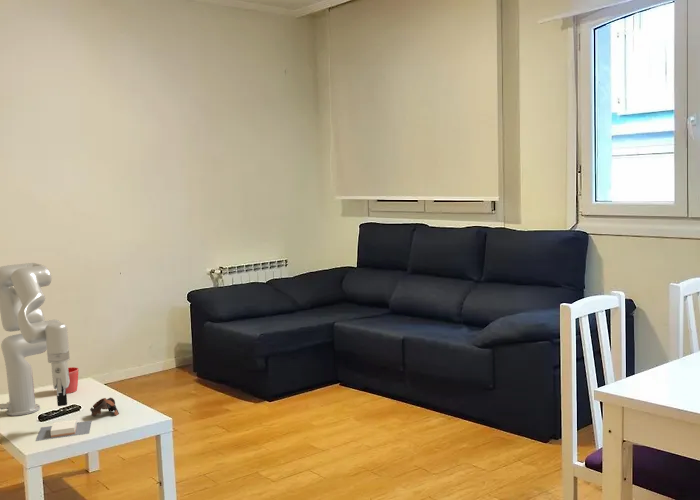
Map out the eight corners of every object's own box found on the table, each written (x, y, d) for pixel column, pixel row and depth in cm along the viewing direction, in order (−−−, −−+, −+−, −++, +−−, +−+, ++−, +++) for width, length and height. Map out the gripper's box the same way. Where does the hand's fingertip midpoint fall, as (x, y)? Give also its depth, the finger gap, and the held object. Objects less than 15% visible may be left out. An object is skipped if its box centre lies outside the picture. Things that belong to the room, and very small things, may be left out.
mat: (35, 442, 262) (35, 440, 262) (41, 429, 277) (40, 427, 277) (89, 435, 266) (89, 433, 266) (91, 422, 282) (91, 420, 282)
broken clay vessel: (116, 420, 284) (103, 404, 281) (97, 431, 285) (83, 415, 283) (126, 404, 295) (113, 388, 293) (107, 414, 297) (94, 398, 294)
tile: (54, 428, 274) (51, 437, 264) (53, 422, 274) (50, 430, 264) (76, 425, 276) (74, 434, 267) (76, 419, 276) (74, 427, 266)
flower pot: (49, 395, 325) (47, 373, 324) (63, 388, 335) (61, 367, 334) (72, 395, 323) (70, 373, 322) (85, 388, 334) (83, 366, 333)
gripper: (67, 360, 267) (71, 409, 269) (71, 351, 281) (74, 398, 283) (45, 362, 265) (49, 412, 267) (49, 353, 279) (53, 400, 281)
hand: (62, 405), depth 275 cm, fingers closed
